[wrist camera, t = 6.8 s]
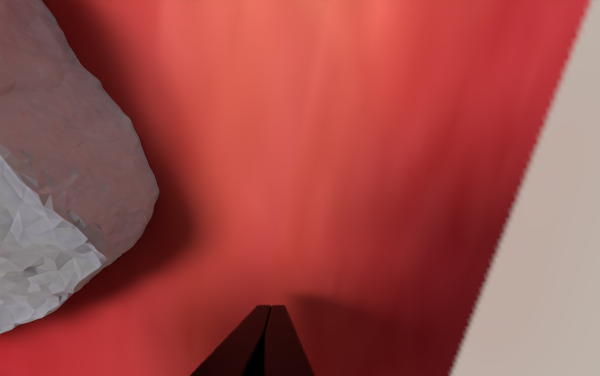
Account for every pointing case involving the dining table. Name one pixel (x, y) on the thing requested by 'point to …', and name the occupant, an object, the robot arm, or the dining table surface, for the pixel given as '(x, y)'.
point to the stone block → (60, 169)
